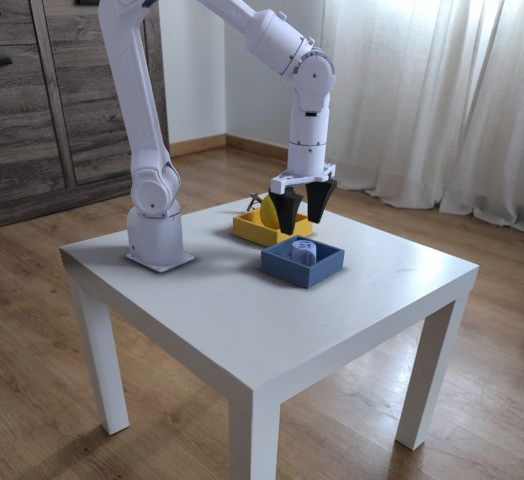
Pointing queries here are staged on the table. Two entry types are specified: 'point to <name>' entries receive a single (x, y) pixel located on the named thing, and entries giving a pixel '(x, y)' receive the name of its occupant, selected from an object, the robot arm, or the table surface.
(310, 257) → the light blue short cylinder
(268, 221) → the lemon
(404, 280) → the table surface
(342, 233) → the table surface
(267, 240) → the yellow bin
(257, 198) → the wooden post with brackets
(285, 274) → the blue bin
